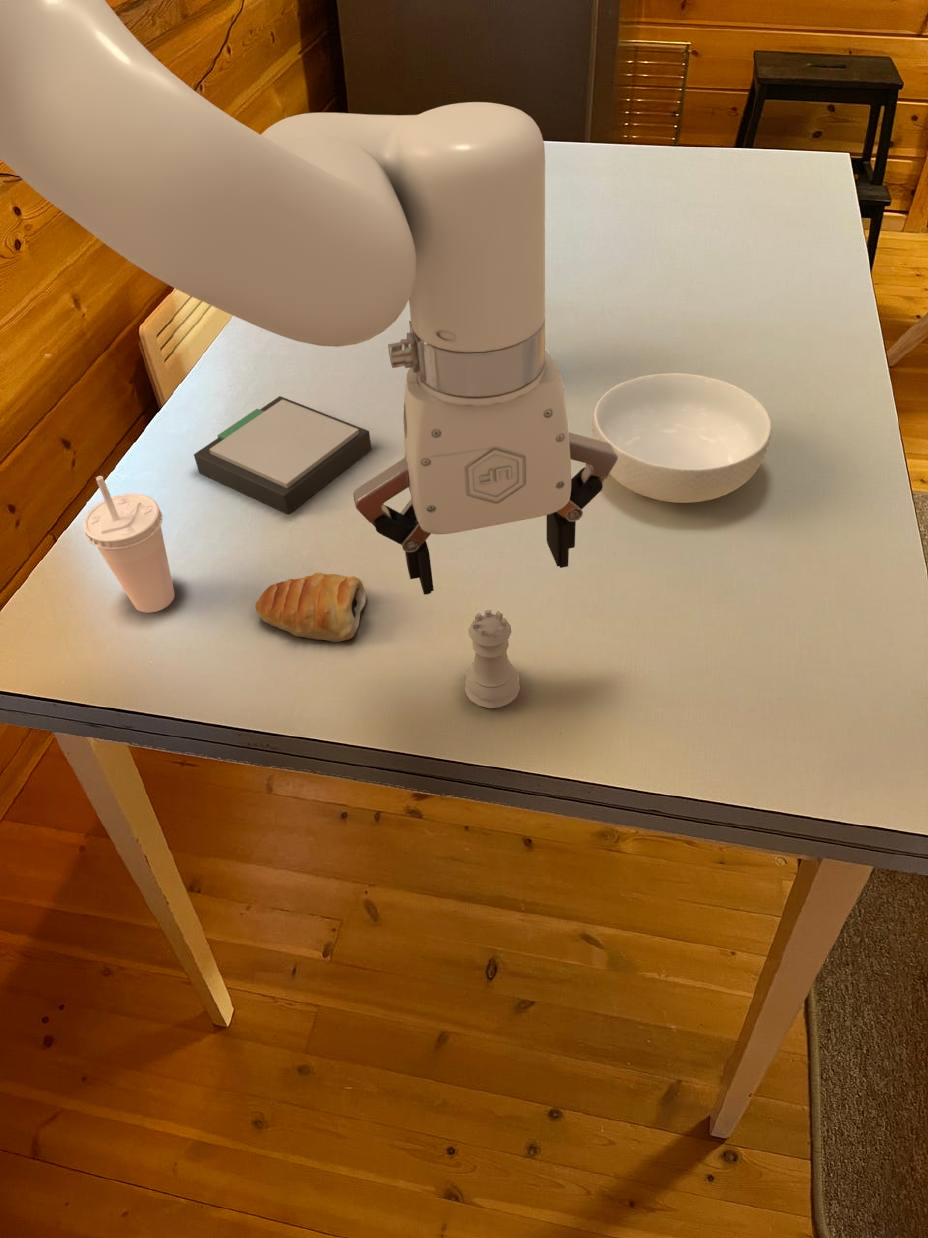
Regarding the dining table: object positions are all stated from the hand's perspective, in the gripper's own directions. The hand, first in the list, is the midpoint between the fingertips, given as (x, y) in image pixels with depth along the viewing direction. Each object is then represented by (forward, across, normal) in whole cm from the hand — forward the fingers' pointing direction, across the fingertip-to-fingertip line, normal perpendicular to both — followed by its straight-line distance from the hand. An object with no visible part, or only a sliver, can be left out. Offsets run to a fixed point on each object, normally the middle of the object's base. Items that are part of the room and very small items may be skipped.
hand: (491, 567), depth 66 cm
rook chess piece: (+14, 0, 0) cm, 14 cm away
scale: (+13, -14, +36) cm, 41 cm away
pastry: (+13, -13, +12) cm, 22 cm away
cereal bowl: (+14, +24, +23) cm, 36 cm away
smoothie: (+13, -28, +18) cm, 36 cm away
